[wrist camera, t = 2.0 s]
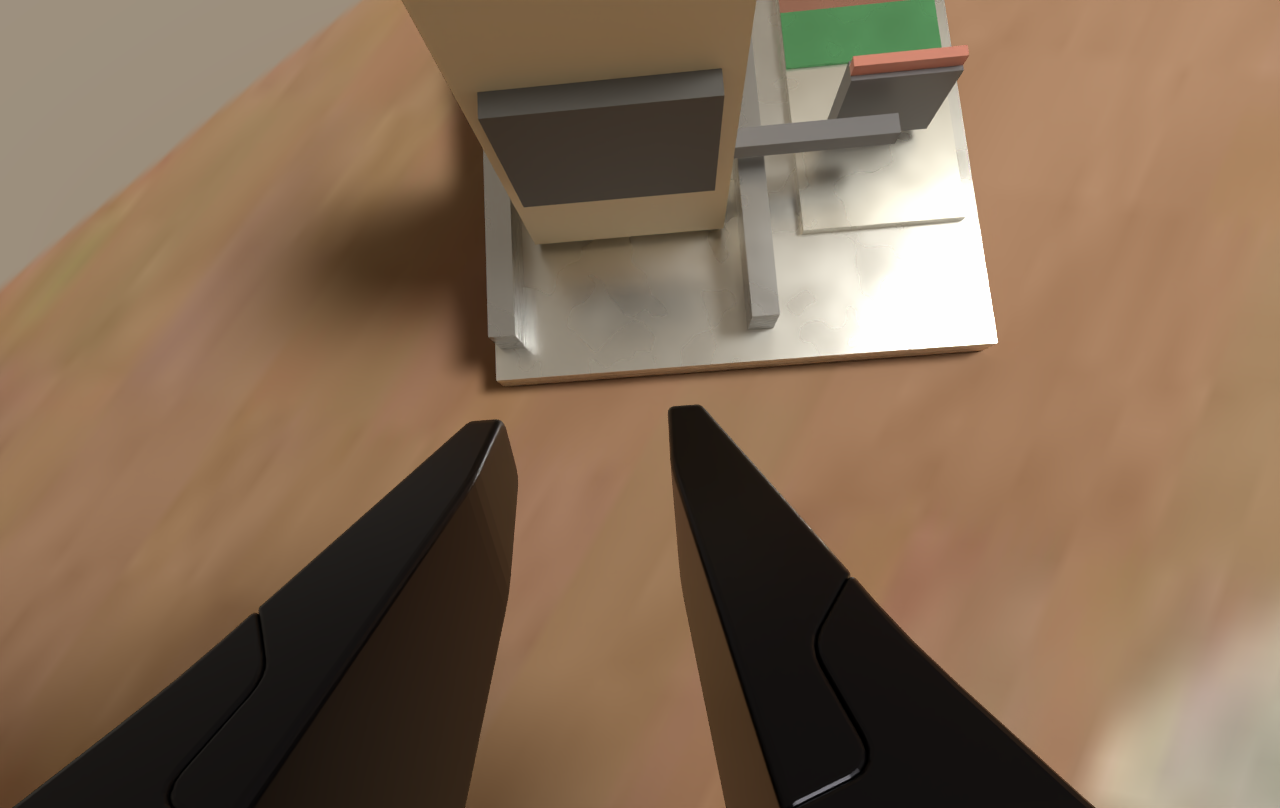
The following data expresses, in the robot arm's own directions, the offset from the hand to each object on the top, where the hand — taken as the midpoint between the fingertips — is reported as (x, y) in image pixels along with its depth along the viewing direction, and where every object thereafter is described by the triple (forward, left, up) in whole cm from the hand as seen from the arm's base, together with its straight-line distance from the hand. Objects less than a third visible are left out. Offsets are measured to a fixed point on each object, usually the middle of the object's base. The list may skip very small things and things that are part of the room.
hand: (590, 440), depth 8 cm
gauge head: (0, -10, -12) cm, 15 cm away
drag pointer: (-5, -12, -11) cm, 17 cm away
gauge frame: (-1, -11, -13) cm, 17 cm away
